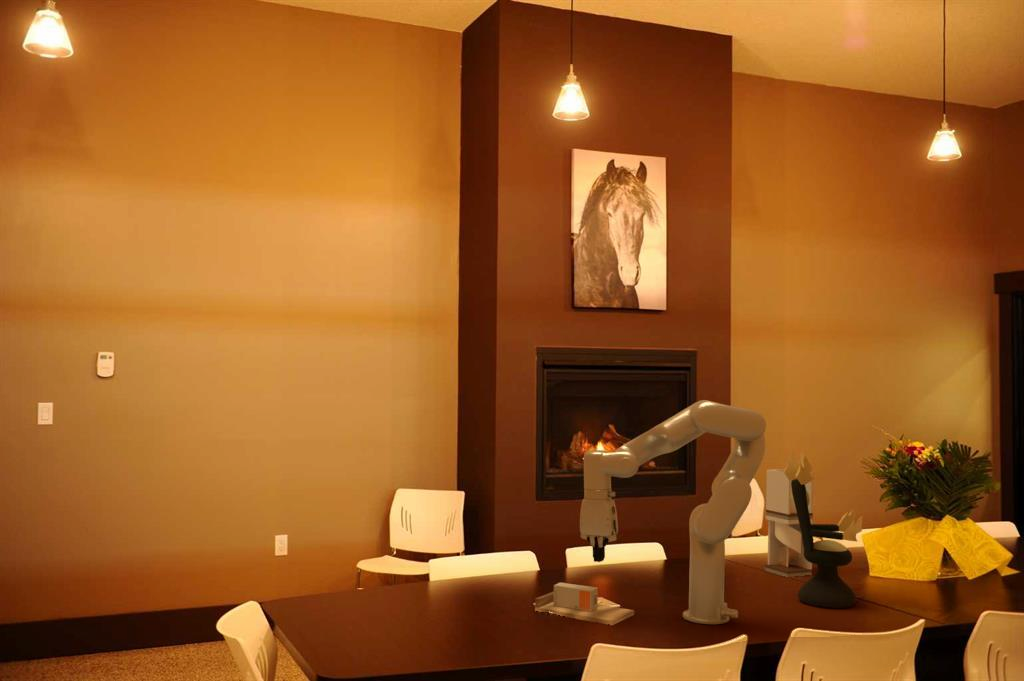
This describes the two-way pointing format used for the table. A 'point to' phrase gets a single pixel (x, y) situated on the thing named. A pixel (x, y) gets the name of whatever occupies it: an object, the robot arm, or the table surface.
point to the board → (599, 615)
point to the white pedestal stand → (785, 527)
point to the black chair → (822, 544)
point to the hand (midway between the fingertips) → (598, 560)
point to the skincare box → (575, 597)
